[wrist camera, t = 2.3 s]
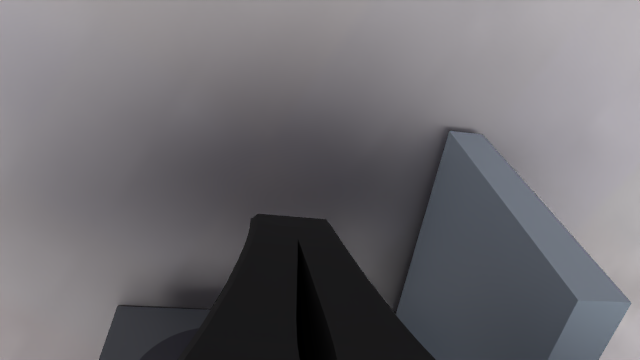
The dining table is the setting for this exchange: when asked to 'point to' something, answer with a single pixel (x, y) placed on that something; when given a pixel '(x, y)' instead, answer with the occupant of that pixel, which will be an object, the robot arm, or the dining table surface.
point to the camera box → (151, 333)
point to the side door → (502, 269)
